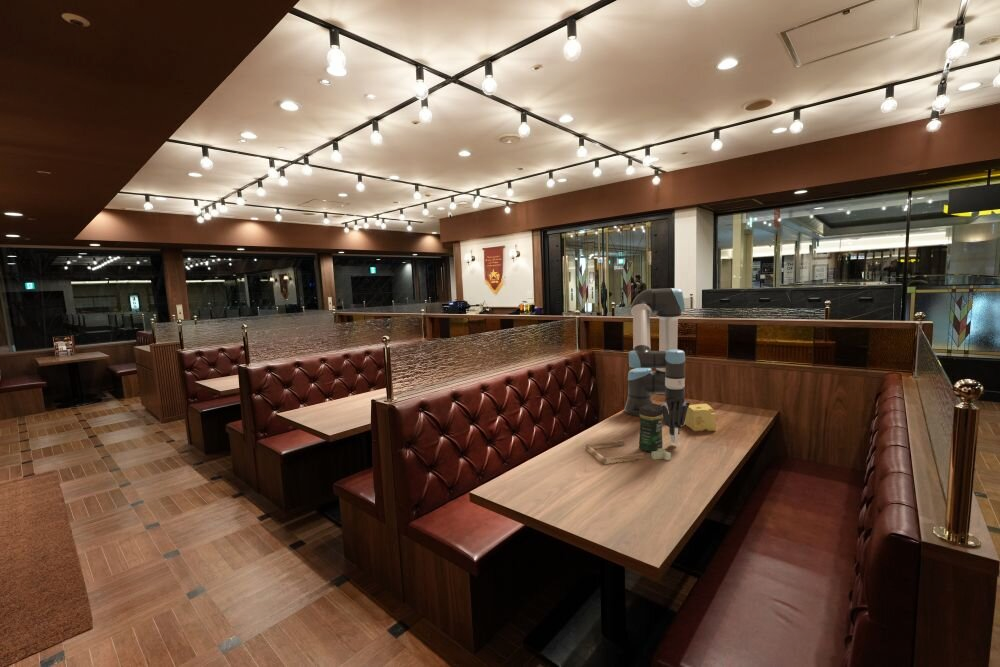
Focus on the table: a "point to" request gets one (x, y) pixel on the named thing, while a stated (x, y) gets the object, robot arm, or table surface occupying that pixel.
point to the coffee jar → (651, 427)
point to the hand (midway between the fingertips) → (674, 441)
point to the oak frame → (612, 459)
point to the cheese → (700, 417)
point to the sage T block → (661, 454)
